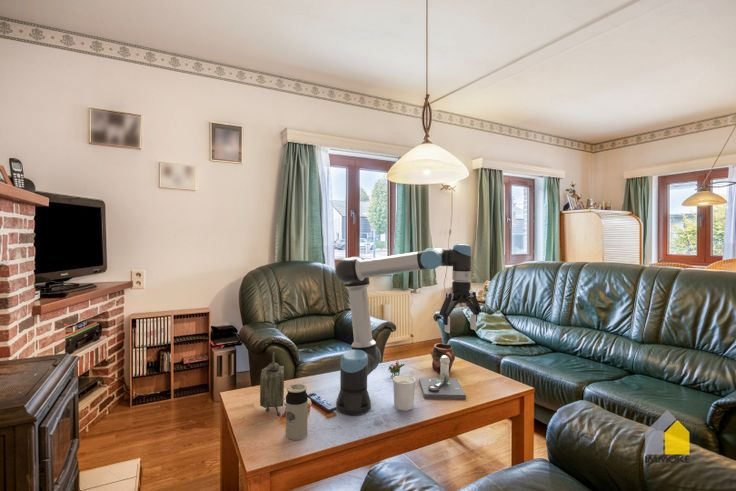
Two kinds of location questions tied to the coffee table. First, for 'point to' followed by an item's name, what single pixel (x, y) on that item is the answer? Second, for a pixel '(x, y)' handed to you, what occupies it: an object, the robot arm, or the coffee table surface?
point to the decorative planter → (440, 351)
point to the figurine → (395, 368)
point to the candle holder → (404, 392)
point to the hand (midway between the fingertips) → (460, 330)
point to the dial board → (442, 389)
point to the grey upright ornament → (272, 386)
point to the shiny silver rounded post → (442, 374)
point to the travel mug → (296, 411)
